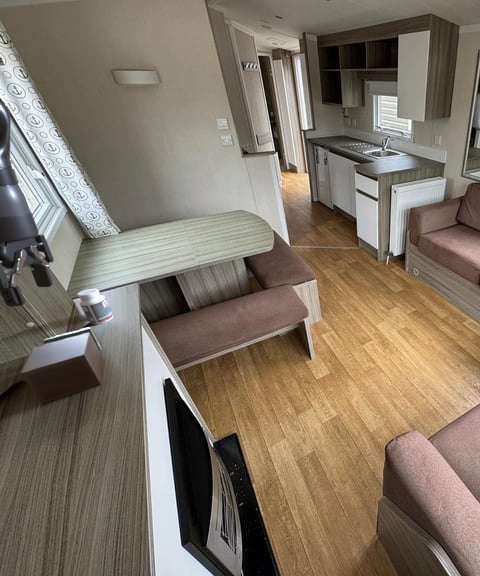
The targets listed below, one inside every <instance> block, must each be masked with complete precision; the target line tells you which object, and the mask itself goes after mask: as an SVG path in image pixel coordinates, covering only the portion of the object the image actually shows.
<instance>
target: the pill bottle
mask: <svg viewBox="0 0 480 576" xmlns="http://www.w3.org/2000/svg"><path fill="white" fill-rule="evenodd" d="M76 296H77V297H78V299H80V300H79V306H80V308H81V309H82V312H83V314H84V315H85V317H86V319H87V320H88V321H89V324H91V325H101V324H104V323H107V322H109V321H111V320H112V319H113V318H114V313H113V312H112V310H111V308H110V306H109V304H108V301H107V300H106V298H105V295H102V294H100V290H99V289H98V288H94V287H93V288H87V289H84V290H81V291H79V292H77V295H76Z"/></svg>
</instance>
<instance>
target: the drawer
mask: <svg viewBox="0 0 480 576" xmlns="http://www.w3.org/2000/svg"><path fill="white" fill-rule="evenodd" d="M85 333H90V334H91V336H92V338H93V340H94V342H95V344H96V345H97V347H98V349H99V351H100V352H101V351H102V350H103V349H102V346H101V344H100V342H99V340H98V339H97V337H96V335H95V333H94V331H93V329H92V327H91V326H88V327H84V328H80V329H77V330H72V331H69V332H64V333H61V334H57V335H53V336H49V337H46V338H43V340H42V342H43V343H44V344H48V343H52V342H55V341H59V340H63V339H67V338H70V337H74V336H78V335H82V334H85Z"/></svg>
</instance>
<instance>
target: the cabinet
mask: <svg viewBox="0 0 480 576" xmlns="http://www.w3.org/2000/svg"><path fill="white" fill-rule="evenodd" d="M104 367H105V359H104V357H103V355H102V353H101V351H99V349H98V347H97V345H96V344H95V342H94V340H93V338H92V336H91V334H90V333H85V334H82V335H78V336H74V337H70V338H67V339H63V340H59V341H55V342H52V343H48V344H45V343H44V344H41V345H37V346H33V347H32V350H31V351H30V353H29V355H28V357H27V359H26V361H25V363H24V366H23V368H22V370H21V372H20V375H21V377H22V378H23V380H24V381H25V382H26V384H27V385H28V387H29V388H30V389H31V390H32V392H33V394H34V395H35V397H36V398H37V399H38V400H39V402H40V403H41V405H45V404H48V403H52V402H54V401H57V400H60V399H63V398H67V397H68V396H72V395H74V394H78V393H80V392H81V393H82V392H83V391H87V390H89V389H92V388H95V387H98V386H101V385H102V380H103V374H104Z"/></svg>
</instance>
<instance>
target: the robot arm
mask: <svg viewBox="0 0 480 576" xmlns="http://www.w3.org/2000/svg"><path fill="white" fill-rule="evenodd" d="M11 120H12V119H11V114H10V109H9V107H8V104H7V103H6V101H5V100H4V98H3V97H2V96H1V95H0V294H1V296H2V299H3V302H4V303H5V304H6V306H8V307H22V306H24V305H25V304H26V299H25V298H24V295H23V292H22V290H21V288H20V286H19V285H18V284H19V283H18V282H19V277H20V276H21V275H22V274H23V273H24V268H26V267H28V268H30V269H31V270H30V271H31V272H30V273H31V274H32V278H33V279H34V282H35V284H36V287H38V288H50V287H52V286H53V285H54V283H53V282H54V281H53V280H52V277H51V274H50V271H49V269H50V263H54V261H55V260H54V256H53V254H52V252H51V251H52V250H51V248H50V246H49V244H48V241H47V239H46V236H45V235H44V234H40V232H39V229H38V226H37V223H36V220H35V218H34V214H33V212H32V209H31V207H30V204H29V200H28V199H27V196H26V194H25V192H24V191H23V189H22V187H21V184H20V182H19V179H18V176H17V173H16V171H15V168H14V165H13V162H12V159H11V127H12V126H11V124H12V123H11V122H12V121H11ZM42 253H43V254H44V255H43V254H42ZM4 268H5V269H4ZM7 276H8V278H7Z"/></svg>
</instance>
